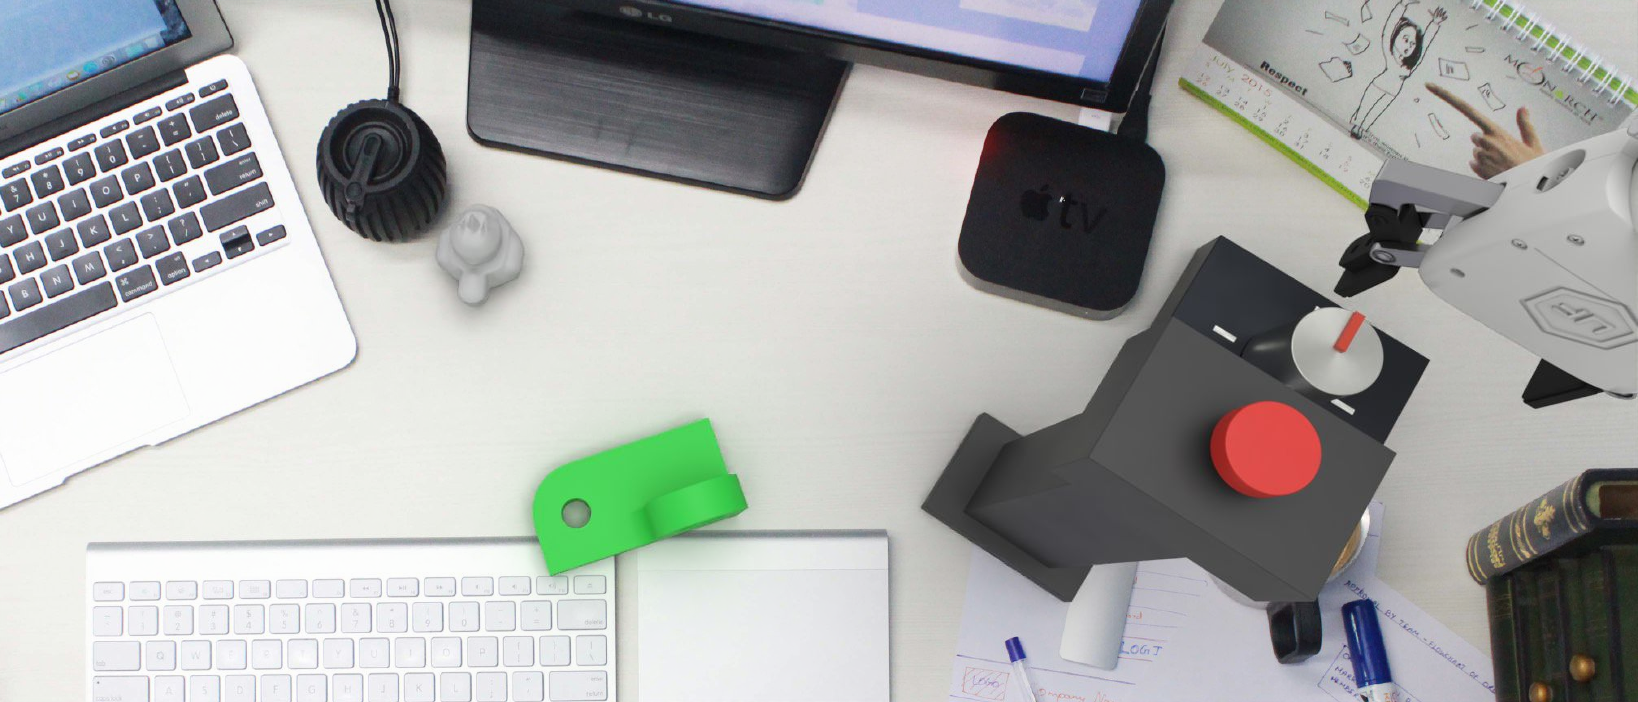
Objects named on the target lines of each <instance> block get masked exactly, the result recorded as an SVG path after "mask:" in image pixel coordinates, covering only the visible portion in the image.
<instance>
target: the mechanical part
mask: <svg viewBox="0 0 1638 702" xmlns="http://www.w3.org/2000/svg"><path fill="white" fill-rule="evenodd" d="M728 471H729V470H728V469H727V465H726V463H725V460H724V458H723V455H722V452H721V449H720V445H719V442H718V440H717V437H716V434H715V431H714V429H713V426H712V423H711V420H710V417H706V418H703V419H700V420H696V421H694V422H693V421H692V422H690V423H688V424H687V423H686V424H684V425H681V426H678V427H675V428H672V429H669V430H666V431H663V432H660V433H657V434H653V435H650V436H647V437H644V438H641V439H638V440H635V441H631V442H629V443H626V444H622V445H620V446H619V445H618V446H617V447H613V448H610V449H607V450H605V451H601V452H598V453H595V454H591V455H589V456H586V457H583V458H580V459H576V460H574V461H570V462H568V463H564V464H561V465H560V466H558V467H557V468H555V469H553V470H552V471H551V472H549V473H548V474H547V475H546V477H545V478H543V480H542V481H541V482H540V484H539V486H538V488H537V489H536V492H535V494H534V498H533V502H532V511H531V512H532V521H533V526H534V529H535V533H536V536H537V539H538V541H539V545H540V549H541V552H542V554H543V558H544V561H545V564H546V567H547V571H548V573H549V576H550V577H553V576H556V574H557V575H560V574H563V573H566V572H569V571H573V570H575V569H578V568H581V567H584V566H586V565H590V564H593V563H596V562H599V561H602V560H605V559H609V558H611V556H612V557H614V556H615V557H616V556H618V555H620V554H623V553H627V552H629V551H632V550H636V549H638V548H642V547H644V546H648V545H651V544H654V543H657V542H659V541H663V540H666V539H669V538H672V537H675V536H678V535H682V534H684V533H687V532H689V531H693V530H696V529H700V528H702V527H705V526H708V525H711V524H715V523H717V522H721V521H724V520H726V519H729V518H732V517H735V516H738V515H740V514H741V513H743V512H744V511H746V510H748V509H749V505H748V502H747V499H746V496H745V494H744V491H743V489H742V485H741V483H740V479H739V476H738V474H737V473H730V474H729V472H728ZM572 502H573V503H574V502H581V503H584V504H585V505H586V506H588V508H589V510H590V513H591V514H590V518H589V520H588V522H587V523H586V524H585V525H584V526H582V527H577V528H575V527H571V526H569V525H567V524H566V523H565V521H564V518H563V514H564V510H565V508H566V507H567V506H568V505H569V504H571V503H572ZM608 557H609V558H608ZM559 573H560V574H559Z"/></svg>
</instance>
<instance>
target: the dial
mask: <svg viewBox="0 0 1638 702" xmlns="http://www.w3.org/2000/svg"><path fill="white" fill-rule="evenodd" d="M1343 308H1344V307H1343ZM1343 308H1337V307H1326V308H1320V309H1317V310H1314V311H1312V312H1309V313H1307V314H1305V315H1302V316H1300V317H1297V318H1295V319H1293V320H1290V321H1288V322H1285V323H1283V324H1281V325H1278V326H1276V327H1273V328H1271V329H1269V330H1266V331H1264V332H1261V333H1259V334H1258V335H1256V336H1255V337H1253V338H1252V339H1251V340H1250V341H1249V342H1248V344H1247V345H1246V347H1245V349H1244V351H1243V354H1242V357H1241V358H1242V359H1244V360H1246V361H1247V362H1249V363H1250V364H1252V365H1254V366H1255V367H1257V368H1259V369H1260V370H1262V371H1264V372H1265V373H1267V374H1268V375H1270V376H1272V377H1273V378H1275V379H1277V380H1278V381H1280V382H1282V383H1283V384H1285V385H1286V386H1288V387H1290V388H1291V389H1293V390H1295V391H1296V392H1298V393H1300V394H1301V395H1303V396H1304V397H1306V398H1308V399H1309V400H1311V401H1313V402H1314V403H1316V404H1321V403H1325V402H1328V401H1332V400H1335V399H1339V398H1343V397H1346V396H1350V395H1353V394H1357V393H1359V392H1362V391H1364V390H1365V389H1367V388H1368V387H1369V386H1371V385H1372V384H1373V383H1374V381H1375V380H1376V379H1377V377H1378V376H1379V374H1380V372H1381V369H1382V365H1383V348H1382V344H1381V341H1380V339H1379V336H1378V335H1377V333H1376V331H1375V330H1374V329H1373V327H1372V326H1371V325H1372V324H1371V323H1370V324H1371V325H1370V324H1369V321H1367V320H1366V315H1364V314H1362V313H1360V312H1359V311H1352V310H1349V309H1346V308H1344V309H1343Z"/></svg>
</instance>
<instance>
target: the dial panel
mask: <svg viewBox="0 0 1638 702" xmlns="http://www.w3.org/2000/svg"><path fill="white" fill-rule="evenodd" d="M1165 300H1166V301H1164V303H1163V305H1162V307H1161V309H1160V310H1159V312H1158V313H1157V315H1156V317H1155V318H1154V320H1153V321H1152V323H1151V325H1150V326H1149V328H1151V327H1153V326H1154V325H1156V324H1158V323H1160V322H1162V321H1164V320H1166V319H1168V318H1170V317H1172V316H1173V317H1175V318H1177V319H1179V320H1180V321H1182V322H1183V323H1185V324H1187V325H1188V326H1190V327H1192V328H1193V329H1195V330H1197V331H1198V332H1200V333H1201V334H1203V335H1205V336H1206V337H1208V338H1210V339H1211V340H1213V341H1215V342H1216V343H1218V344H1219V345H1221V346H1223V347H1224V348H1226V349H1228V350H1229V351H1231V352H1233V353H1234V354H1236V355H1237V356H1239V357H1242V354H1243V351H1244V349H1245V347H1246V345H1247V344H1248V342H1249V341H1250V340H1251V339H1252V338H1253V337H1255V336H1256V335H1258V334H1259V333H1261V332H1264V331H1266V330H1269V329H1271V328H1273V327H1276V326H1278V325H1281V324H1283V323H1285V322H1288V321H1290V320H1293V319H1295V318H1297V317H1300V316H1302V315H1305V314H1307V313H1309V312H1312V311H1314V310H1317V309H1320V308H1326V307H1337V308H1343V309H1345V307H1343V306H1341V305H1339V304H1337V302H1335V301H1333V300H1331V299H1329V298H1328V297H1326V296H1325V295H1323V294H1321V293H1319V292H1318V291H1316V290H1314V289H1313V288H1311V287H1309V286H1307V285H1306V284H1304V283H1303V282H1301V281H1299V280H1297V278H1294V277H1293V276H1291V275H1289V274H1288V273H1286V272H1284V271H1282V270H1281V269H1280V268H1278V267H1276V266H1274V265H1272V264H1271V263H1269V262H1267V261H1266V260H1265V259H1263V258H1261V257H1259V256H1257V255H1256V254H1254V253H1253V252H1251V251H1249V250H1248V249H1246V248H1244V247H1243V246H1241V245H1239V244H1238V243H1236V242H1234V241H1233V240H1231V239H1229V238H1227V237H1226V236H1224V235H1222V234H1220V235H1218V236H1217V237H1215V238H1213V239H1212V240H1210V241H1208V242H1206V243H1204V244H1203V245H1202V246H1199V247H1198V248H1197V249H1196V251H1195V252H1194V254H1193V255H1192V257H1191V259H1190V261H1189V262H1188V264H1187V265H1186V267H1185V269H1184V270H1183V272H1182V273H1181V275H1180V277H1179V279H1178V280H1177V282H1176V283H1175V285H1174V287H1173V288H1172V290H1171V291H1170V293H1169V295H1168V297H1167V298H1166V299H1165ZM1368 323H1369V322H1368ZM1369 324H1370V325H1371V326H1372V327H1373V329H1374V330H1375V331H1376V333H1377V335H1378V336H1379V339H1380V341H1381V344H1382V348H1383V365H1382V369H1381V372H1380V374H1379V376H1378V377H1377V379H1376V380H1375V381H1374V383H1373V384H1372V385H1371V386H1369V387H1368V388H1367V389H1365V390H1364V391H1362V392H1359V393H1357V394H1353V395H1350V396H1346V397H1343V398H1339V399H1335V400H1332V401H1328V402H1325V403H1321V404H1318V405H1319V406H1321V407H1322V408H1324V409H1326V410H1327V411H1329V412H1331V413H1332V414H1334V415H1335V416H1337V417H1339V418H1340V419H1342V420H1344V421H1345V422H1347V423H1349V424H1350V425H1352V426H1353V427H1355V428H1357V429H1358V430H1360V431H1362V432H1363V433H1365V434H1367V435H1368V436H1370V437H1371V438H1373V439H1375V440H1376V441H1378V442H1380V443H1381V444H1383V445H1385V443H1386V442H1387V439H1388V437H1389V436H1390V434H1391V432H1392V430H1394V427H1395V425H1396V423H1397V421H1398V419H1399V418H1400V417H1401V414H1402V412H1403V411H1404V409H1405V407H1406V405H1407V404H1408V401H1409V400H1410V398H1411V396H1412V394H1413V393H1414V391H1415V389H1416V387H1417V385H1418V384H1419V382H1420V380H1421V378H1422V376H1423V374H1424V373H1425V371H1426V369H1427V367H1428V366H1429V363H1430V362H1431V359H1430V358H1428V357H1427V356H1425V355H1423V354H1421V353H1419V352H1418V351H1417V350H1414V348H1411V347H1409V346H1408V345H1406V344H1405V343H1403V342H1402V341H1400V340H1398V339H1396V338H1395V337H1393V336H1392V335H1389V334H1388V333H1387V332H1385V331H1383V330H1381V329H1379V327H1376V326H1374V325H1373V324H1371V323H1369Z"/></svg>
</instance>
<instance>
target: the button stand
mask: <svg viewBox="0 0 1638 702" xmlns="http://www.w3.org/2000/svg"><path fill="white" fill-rule="evenodd" d="M1150 327H1151V326H1150ZM1150 327H1149V328H1147V329H1145V330H1143V331H1141V332H1138V333H1137V334H1135V335H1133V336H1131V337H1129V338H1127V339H1126V340H1125V342H1124V343H1123V345H1122V347H1121V348H1120V350H1119V352H1118V353H1117V355H1116V357H1115V358H1114V360H1113V362H1112V363H1111V365H1110V366H1109V368H1108V370H1107V371H1106V373H1105V375H1104V376H1103V378H1102V380H1101V381H1100V383H1099V384H1098V387H1097V388H1096V390H1095V391H1094V393H1093V395H1092V396H1091V397H1090V400H1089V401H1088V403H1087V405H1086V406H1085V407H1084V409H1083V411H1082V412H1081V413H1078V414H1075V415H1073V416H1071V417H1068V418H1066V419H1063V420H1061V421H1058V422H1055V423H1054V424H1051V425H1047V426H1045V427H1043V428H1041V429H1039V430H1036V431H1033V432H1031V433H1028V434H1026V435H1022V434H1020V433H1019V432H1017V431H1016V430H1015V429H1013V428H1011V427H1010V426H1008V425H1006V424H1005V423H1003V422H1002V421H1000V420H998V418H995V417H993V416H992V415H991V414H989V413H988V412H986V411H984V412H981V413H980V414H978V416H976V419H975V420H974V421H973V423H972V425H971V426H970V428H969V430H968V431H967V432H966V435H965V437H964V438H963V440H962V441H961V443H960V444H959V446H958V447H957V449H956V451H955V452H954V454H953V456H952V457H951V459H950V460H949V462H948V464H947V465H946V467H945V469H944V470H943V471H942V474H940V475H939V476H940V477H939V478H938V479H937V481H936V482H935V485H934V486H933V487H932V489H931V490H930V492H929V494H928V495H927V497H926V499H925V501H924V502H923V504H922V505H921V506H920V509H921V510H923V511H924V512H925V513H927V514H929V515H930V516H932V517H933V518H935V520H938V521H939V522H941V523H942V524H944V525H945V526H947V527H949V529H952V530H953V531H955V532H956V533H958V535H961V536H962V537H964V538H965V539H967V540H968V541H970V542H971V543H973V544H974V545H976V546H978V547H979V548H980V549H982V550H983V551H985V552H986V553H988V554H990V555H991V556H992V557H994V558H996V559H998V561H1000V562H1002V563H1003V564H1005V565H1007V566H1008V567H1009V568H1011V569H1013V570H1014V571H1016V572H1017V573H1018V574H1020V575H1021V576H1023V577H1025V579H1028V580H1030V581H1031V582H1032V583H1034V584H1036V585H1037V586H1038V587H1040V588H1042V589H1043V590H1044V591H1046V592H1048V594H1051V595H1052V596H1054V597H1055V598H1057V599H1058V600H1060V601H1061V602H1063V603H1073V601H1074V599H1075V597H1076V596H1077V594H1078V592H1079V590H1080V589H1081V587H1082V586H1083V584H1084V582H1085V581H1086V578H1087V577H1088V575H1089V573H1090V572H1091V570H1092V569H1093V567H1094V566H1098V565H1111V564H1123V563H1124V564H1125V563H1134V562H1135V563H1137V562H1149V561H1161V560H1162V561H1163V560H1174V559H1188V560H1189V561H1191V562H1192V563H1194V564H1195V565H1197V566H1199V567H1200V568H1202V569H1204V571H1206V572H1208V573H1209V574H1211V575H1213V576H1214V577H1216V578H1217V579H1219V580H1221V581H1222V582H1223V583H1225V584H1226V585H1228V586H1230V587H1231V588H1233V589H1235V590H1236V591H1238V592H1239V593H1241V595H1244V596H1245V597H1247V598H1248V599H1250V600H1251V601H1253V602H1256V603H1260V602H1261V603H1262V602H1263V603H1264V602H1265V603H1271V602H1272V603H1273V602H1274V603H1275V602H1276V603H1277V602H1278V603H1280V602H1284V603H1285V602H1287V603H1288V602H1289V603H1290V602H1293V603H1294V602H1302V603H1303V602H1307V603H1309V602H1310V603H1311V602H1312V603H1313V602H1316V601H1317V599H1318V597H1319V595H1320V594H1321V592H1322V591H1323V588H1324V587H1325V584H1326V582H1327V581H1328V579H1329V577H1330V575H1331V573H1332V572H1333V570H1334V568H1335V566H1336V565H1337V563H1338V561H1339V559H1340V558H1341V556H1342V554H1343V552H1344V550H1345V548H1346V546H1347V545H1348V543H1349V541H1350V540H1351V537H1352V536H1353V534H1354V532H1355V530H1356V529H1357V527H1358V525H1359V523H1360V522H1361V519H1362V517H1363V516H1364V514H1365V513H1366V510H1367V509H1368V507H1369V505H1370V503H1371V501H1372V499H1373V498H1374V496H1375V494H1376V493H1377V490H1378V488H1379V487H1380V485H1381V483H1382V481H1383V480H1384V478H1385V476H1386V474H1387V472H1388V471H1389V469H1390V467H1391V465H1392V463H1393V462H1394V460H1395V458H1396V457H1397V455H1398V454H1397V451H1394V450H1393V449H1391V448H1389V447H1388V446H1386V445H1385V444H1384V445H1383V444H1381V443H1380V442H1378V441H1376V440H1375V439H1373V438H1371V437H1370V436H1368V435H1367V434H1365V433H1363V432H1362V431H1360V430H1358V429H1357V428H1355V427H1353V426H1352V425H1350V424H1349V423H1347V422H1345V421H1344V420H1342V419H1340V418H1339V417H1337V416H1335V415H1334V414H1332V413H1331V412H1329V411H1327V410H1326V409H1324V408H1322V407H1321V406H1319V405H1318V404H1316V403H1314V402H1313V401H1311V400H1309V399H1308V398H1306V397H1304V396H1303V395H1301V394H1300V393H1298V392H1296V391H1295V390H1293V389H1291V388H1290V387H1288V386H1286V385H1285V384H1283V383H1282V382H1280V381H1278V380H1277V379H1275V378H1273V377H1272V376H1270V375H1268V374H1267V373H1265V372H1264V371H1262V370H1260V369H1259V368H1257V367H1255V366H1254V365H1252V364H1250V363H1249V362H1247V361H1246V360H1244V359H1242V358H1241V357H1239V356H1237V355H1236V354H1234V353H1233V352H1231V351H1229V350H1228V349H1226V348H1224V347H1223V346H1221V345H1219V344H1218V343H1216V342H1215V341H1213V340H1211V339H1210V338H1208V337H1206V336H1205V335H1203V334H1201V333H1200V332H1198V331H1197V330H1195V329H1193V328H1192V327H1190V326H1188V325H1187V324H1185V323H1183V322H1182V321H1180V320H1179V319H1177V318H1175V317H1173V316H1172V317H1170V318H1168V319H1166V320H1164V321H1162V322H1160V323H1158V324H1156V325H1154V326H1153V327H1151V328H1150ZM1261 401H1273V402H1279V403H1283V404H1286V405H1288V406H1290V407H1292V408H1294V409H1296V410H1297V411H1299V412H1300V413H1301V414H1303V415H1304V416H1305V417H1306V418H1307V419H1308V420H1309V422H1310V423H1311V424H1312V426H1313V427H1314V429H1315V431H1316V432H1317V435H1318V437H1319V440H1320V444H1321V463H1320V466H1319V469H1318V471H1317V474H1316V475H1315V477H1314V478H1313V480H1312V481H1311V482H1310V483H1309V484H1308V485H1307V486H1306V487H1304V488H1303V489H1301V490H1300V491H1297V492H1295V493H1292V494H1289V495H1283V496H1277V497H1270V498H1256V497H1251V496H1247V495H1245V494H1242V493H1240V492H1238V491H1237V490H1235V489H1234V488H1232V487H1231V486H1229V485H1228V484H1227V483H1226V482H1225V481H1224V480H1223V478H1222V477H1221V476H1220V475H1219V473H1218V472H1217V470H1216V468H1215V466H1214V463H1213V460H1212V456H1211V438H1212V434H1213V431H1214V429H1215V427H1216V425H1217V424H1218V422H1219V421H1220V420H1221V419H1222V418H1223V416H1225V415H1226V414H1227V413H1229V412H1230V411H1232V410H1234V409H1237V408H1239V407H1243V406H1246V405H1249V404H1252V403H1256V402H1261Z"/></svg>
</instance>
